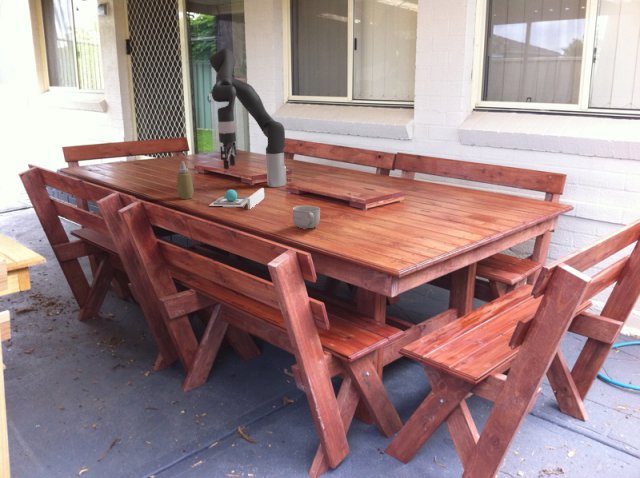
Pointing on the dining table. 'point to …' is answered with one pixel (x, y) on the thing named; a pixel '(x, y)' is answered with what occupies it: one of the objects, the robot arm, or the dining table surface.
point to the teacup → (306, 216)
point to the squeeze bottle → (184, 183)
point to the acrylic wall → (255, 198)
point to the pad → (230, 202)
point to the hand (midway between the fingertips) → (229, 167)
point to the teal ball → (231, 195)
